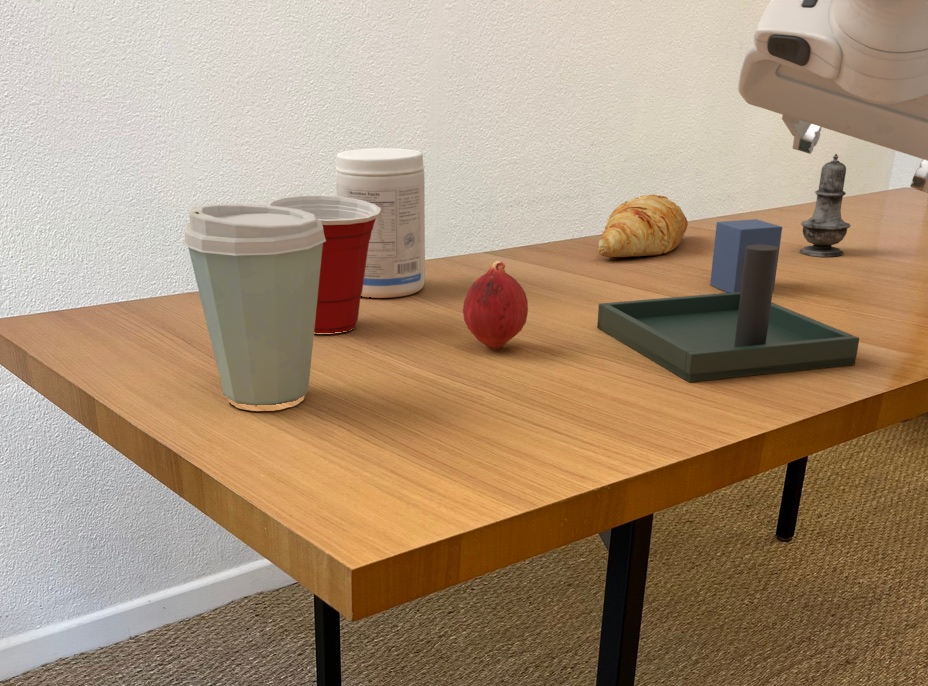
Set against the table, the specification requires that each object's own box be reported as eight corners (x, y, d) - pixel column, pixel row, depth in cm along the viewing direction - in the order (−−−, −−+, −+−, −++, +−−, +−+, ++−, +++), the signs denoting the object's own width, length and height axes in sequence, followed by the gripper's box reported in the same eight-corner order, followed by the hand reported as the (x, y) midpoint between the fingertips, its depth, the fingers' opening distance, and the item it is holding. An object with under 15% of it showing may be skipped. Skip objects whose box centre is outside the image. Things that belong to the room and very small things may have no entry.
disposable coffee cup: (311, 373, 90) (301, 193, 84) (353, 412, 81) (345, 213, 75) (188, 389, 86) (167, 202, 80) (217, 432, 77) (197, 225, 71)
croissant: (621, 293, 129) (653, 238, 124) (559, 246, 132) (588, 191, 127) (693, 259, 144) (725, 209, 139) (637, 218, 147) (665, 168, 142)
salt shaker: (831, 259, 130) (847, 157, 125) (788, 252, 134) (801, 153, 129) (854, 252, 133) (870, 153, 128) (811, 246, 137) (825, 149, 132)
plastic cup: (334, 350, 96) (328, 216, 91) (250, 331, 102) (240, 205, 97) (406, 324, 104) (404, 200, 99) (324, 308, 110) (319, 190, 105)
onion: (510, 362, 92) (512, 271, 89) (452, 353, 95) (452, 264, 92) (536, 345, 97) (539, 258, 94) (480, 337, 100) (481, 252, 96)
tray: (742, 314, 106) (754, 215, 102) (855, 364, 91) (875, 250, 86) (596, 327, 102) (603, 225, 98) (688, 382, 87) (700, 263, 83)
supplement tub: (350, 279, 123) (345, 147, 117) (431, 281, 121) (430, 147, 115) (332, 299, 114) (325, 157, 108) (418, 301, 113) (416, 157, 106)
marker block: (749, 282, 119) (756, 219, 116) (774, 291, 115) (782, 226, 112) (709, 285, 118) (716, 221, 115) (733, 295, 114) (741, 229, 111)
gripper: (1082, 38, 66) (1017, 175, 79) (775, -42, 73) (761, 95, 86) (1039, 115, 65) (981, 242, 78) (732, 26, 72) (724, 154, 85)
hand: (863, 164), depth 82 cm, fingers open, 8 cm apart
